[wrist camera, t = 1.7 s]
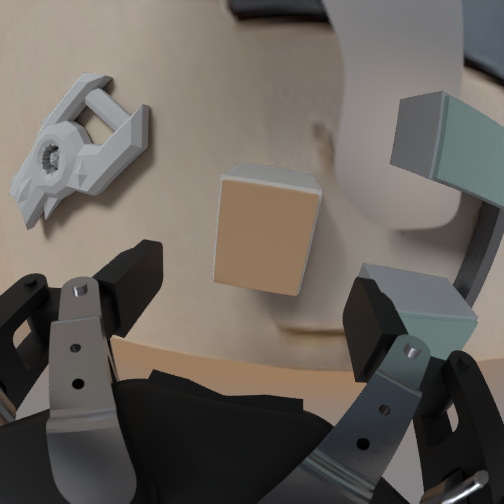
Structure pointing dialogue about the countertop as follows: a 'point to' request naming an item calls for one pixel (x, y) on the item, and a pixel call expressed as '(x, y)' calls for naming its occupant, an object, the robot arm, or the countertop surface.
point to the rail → (480, 252)
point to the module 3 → (426, 307)
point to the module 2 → (451, 145)
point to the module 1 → (265, 227)
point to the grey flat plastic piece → (77, 150)
